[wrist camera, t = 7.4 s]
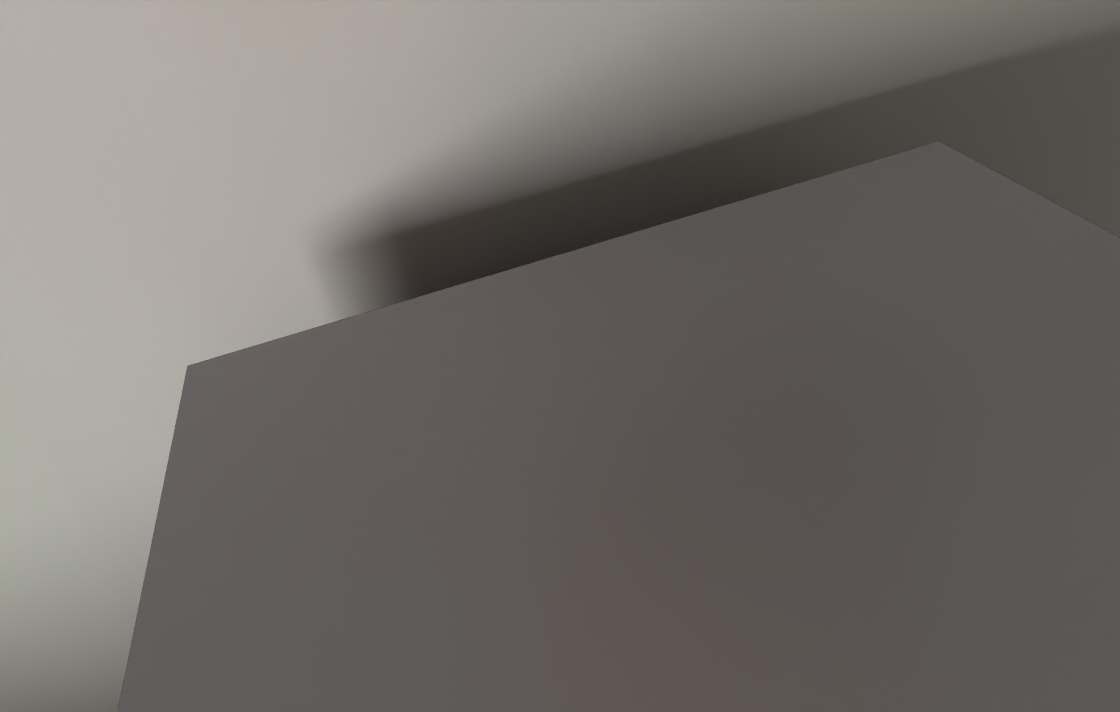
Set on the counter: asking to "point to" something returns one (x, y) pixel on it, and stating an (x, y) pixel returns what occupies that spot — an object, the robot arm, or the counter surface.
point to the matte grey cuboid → (673, 475)
